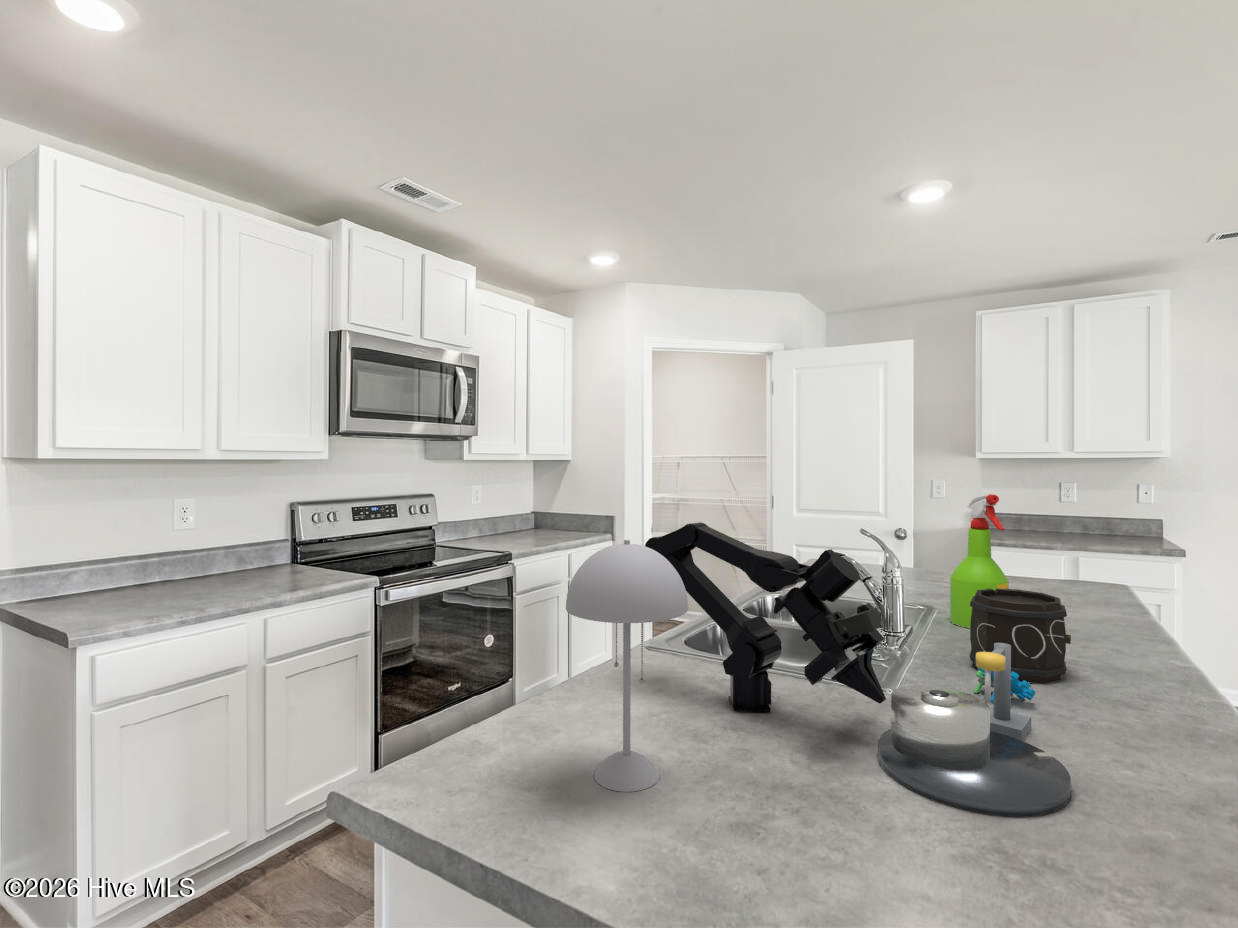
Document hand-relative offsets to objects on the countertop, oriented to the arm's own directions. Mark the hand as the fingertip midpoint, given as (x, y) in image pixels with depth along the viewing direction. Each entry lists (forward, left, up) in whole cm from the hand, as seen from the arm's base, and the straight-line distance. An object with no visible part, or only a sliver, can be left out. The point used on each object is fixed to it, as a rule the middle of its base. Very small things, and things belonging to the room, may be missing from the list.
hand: (883, 701), depth 102 cm
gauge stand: (+20, +4, -7) cm, 21 cm away
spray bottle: (+54, +72, -7) cm, 90 cm away
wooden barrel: (+42, +36, -7) cm, 56 cm away
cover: (+6, -5, -5) cm, 9 cm away
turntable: (+9, -8, -7) cm, 14 cm away
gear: (+30, +20, -7) cm, 37 cm away
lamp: (-40, -10, -7) cm, 42 cm away
